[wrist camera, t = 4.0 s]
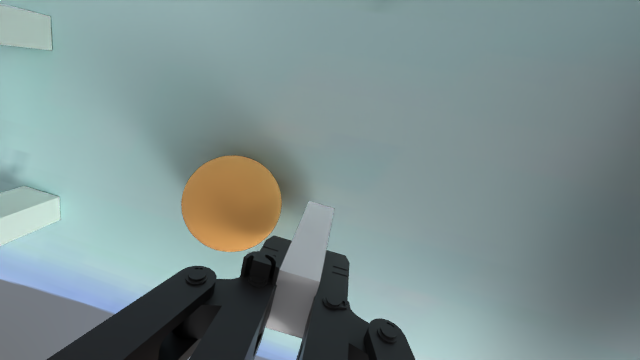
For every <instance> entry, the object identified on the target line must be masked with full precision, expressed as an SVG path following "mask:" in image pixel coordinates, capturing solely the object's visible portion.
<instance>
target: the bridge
mask: <svg viewBox="0 0 640 360" xmlns="http://www.w3.org/2000/svg"><path fill="white" fill-rule="evenodd" d="M0 45H8V46H16V47H25V48H34V49H43V50H52V36H51V16H47V15H43V14H40V13H36V12H32V11H28V10H25V9H21V8H17V7H13V6H10V5H6V4H1V3H0ZM59 220H61V218H60V198H59V197H58V196H55V195H52V194H49V193H45V192H42V191H39V190H36V189H33V188H29V187H26V186H22V187H19V188H15V189H12V190H8V191H5V192H1V193H0V246H2V245H4V244H6V243H9V242H11V241H13V240H15V239H18V238H20V237H22V236H25V235H27V234H29V233H32V232H34V231H36V230H38V229H41V228H43V227H45V226H48V225H50V224H52V223H55V222H57V221H59Z"/></svg>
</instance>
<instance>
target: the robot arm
mask: <svg viewBox="0 0 640 360" xmlns="http://www.w3.org/2000/svg"><path fill="white" fill-rule="evenodd" d="M334 209H335V208H332V207H328V206H325V205H321V204H318V203H314V202H311V201H309V202H308V205H307V207H306V209H305V212H304V214H303V216H302V219H301V221H300V223H299V226H298V228H297V230H296V233H295V235H294V237H293V240H292V241H291V240H287V239H284V238H280V237H277V236H272V237H271V238H269V239H267V240H266V242H265V243H264V245H263V247H262V248H261V250H260V251H257V252H251V253H249V254H247V255H246V256H245V257H244V259H243V265H242V270H241V275H240V277H239V278H236V279H216V275H215V272H214V271H212V270H211V269H210V268H207V267H204V266H192V267H187V268H185V269H183V270H181V271H180V272H178V273H177V274H175V275H174V276H172V277H171V278H169V279H168V280H166V281H164V282H163V283H161V284H160V285H158V286H157V287H155V288H154V289H152V290H151V291H149V292H148V293H146V294H145V295H143V296H142V297H140V298H139V299H137V300H136V301H134V302H133V303H131V304H130V305H128V306H127V307H125V308H124V309H122V310H121V311H119V312H118V313H116V314H115V315H113V316H112V317H110V318H109V319H107V320H106V321H104V322H103V323H101V324H100V325H98V326H97V327H95V328H93V329H92V330H91V331H89V332H87V333H86V334H84V335H83V336H82V337H80V338H78V339H77V340H75V341H74V342H72V343H71V344H69V345H68V346H66V347H65V348H64V349H62V350H60V351H59V352H57V353H56V354H54V355H53V356H51V357H50V358H48V359H47V360H187V359H188V358H189V357H190V356H191V357H190V359H189V360H254V358H255V356H256V353H257V350H258V348H259V345H260V343H261V340H262V336H263V332H264V328H265V326H266V328H269V329H273V330H276V331H279V332H282V333H286V334H289V335H292V336H296V337H299V338H302V343H301V346H300V349H299V353H298V356H297V359H296V360H415V358H414V355H413V353H412V351H411V348H410V346H409V344H408V342H407V339H406V337H405V335H404V334H403V332H402V330H401V329H400V328H399V327H398V326H396V325H395V324H394V323H392V322H390V321H388V320H385V319H374V320H373V321H371V322H370V324H369V323H368V322H366V321H364V320H362V319H361V318H359V317H358V316H357V315H355V314H354V313H353V312H352V310H351V309H350V305H349V302H348V301H347V297H348V279H349V278H348V277H349V261H348V260H347V258H346V256H345V255H342V254H338V253H335V252H331V251H328V250H326V249H327V244H328V239H329V234H330V229H331V224H332V219H333V214H334Z"/></svg>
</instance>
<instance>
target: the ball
mask: <svg viewBox="0 0 640 360" xmlns="http://www.w3.org/2000/svg"><path fill="white" fill-rule="evenodd" d="M181 206H182V214H183V218H184V221H185V224H186V226H187V227H188V229H189V231H190V232H191V233H192V235H193V236H194V237H195V238H196V239H197V240H199V241H200V242H201V243H203V244H204V245H206V246H208V247H210V248H212V249H215V250H219V251H225V252H236V251H242V250H246V249H249V248H251V247H254V246H255V245H257V244H259V243H260V242H262V241H263V240H264V239H265V238H266V237H267V236H268V235H269V234H270V233H271V232H272V231H273V229H274V228H275V226H276V224H277V222H278V220H279V216H280V213H281V206H282V200H281V193H280V189H279V186H278V183H277V181H276V180H275V178H274V177H273V175H272V174H271V173H270V171H269V170H268V169H267V168H265V167H264V166H263V165H262V164H260V163H259V162H257V161H255V160H253V159H250V158H247V157H243V156H235V155H233V156H222V157H218V158H215V159H213V160H210V161H208V162H206V163H205V164H203V165H202V166H201V167H199V168H198V169H197V170H196V171H195V172H194V173H193V174H192V176H191V177H190V178H189V180H188V182H187V184H186V186H185V188H184V191H183V195H182V204H181Z"/></svg>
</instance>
